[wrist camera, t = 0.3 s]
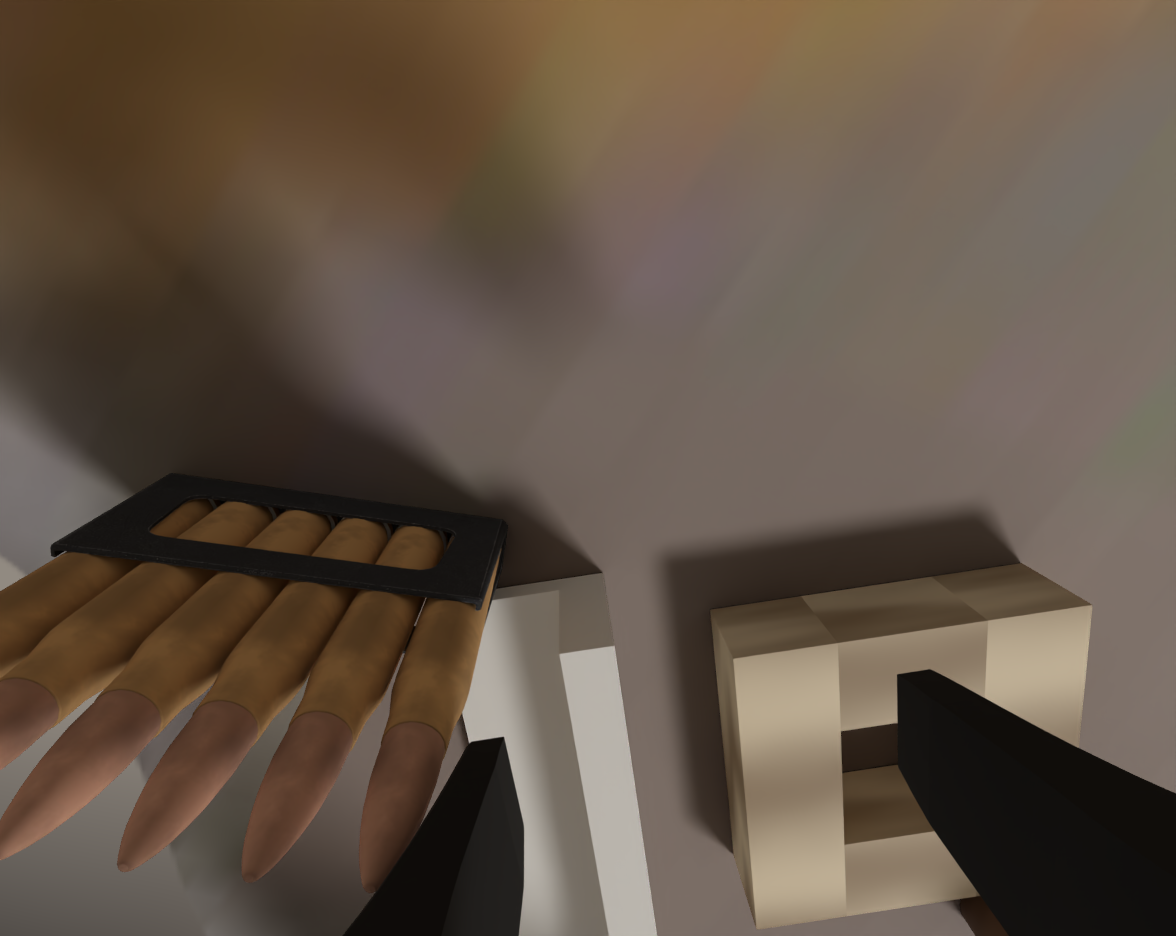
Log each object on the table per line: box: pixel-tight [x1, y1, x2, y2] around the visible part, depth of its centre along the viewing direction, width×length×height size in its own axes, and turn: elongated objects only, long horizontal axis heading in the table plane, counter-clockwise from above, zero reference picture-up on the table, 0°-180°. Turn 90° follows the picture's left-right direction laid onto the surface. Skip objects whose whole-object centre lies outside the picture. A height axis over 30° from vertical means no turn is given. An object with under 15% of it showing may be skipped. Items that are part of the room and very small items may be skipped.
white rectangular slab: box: [462, 573, 657, 936], centre depth 21 cm, size 18×6×4 cm, turn 8°
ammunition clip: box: [0, 473, 508, 893], centre depth 15 cm, size 11×2×12 cm, turn 80°
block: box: [710, 563, 1092, 930], centre depth 22 cm, size 11×11×3 cm
